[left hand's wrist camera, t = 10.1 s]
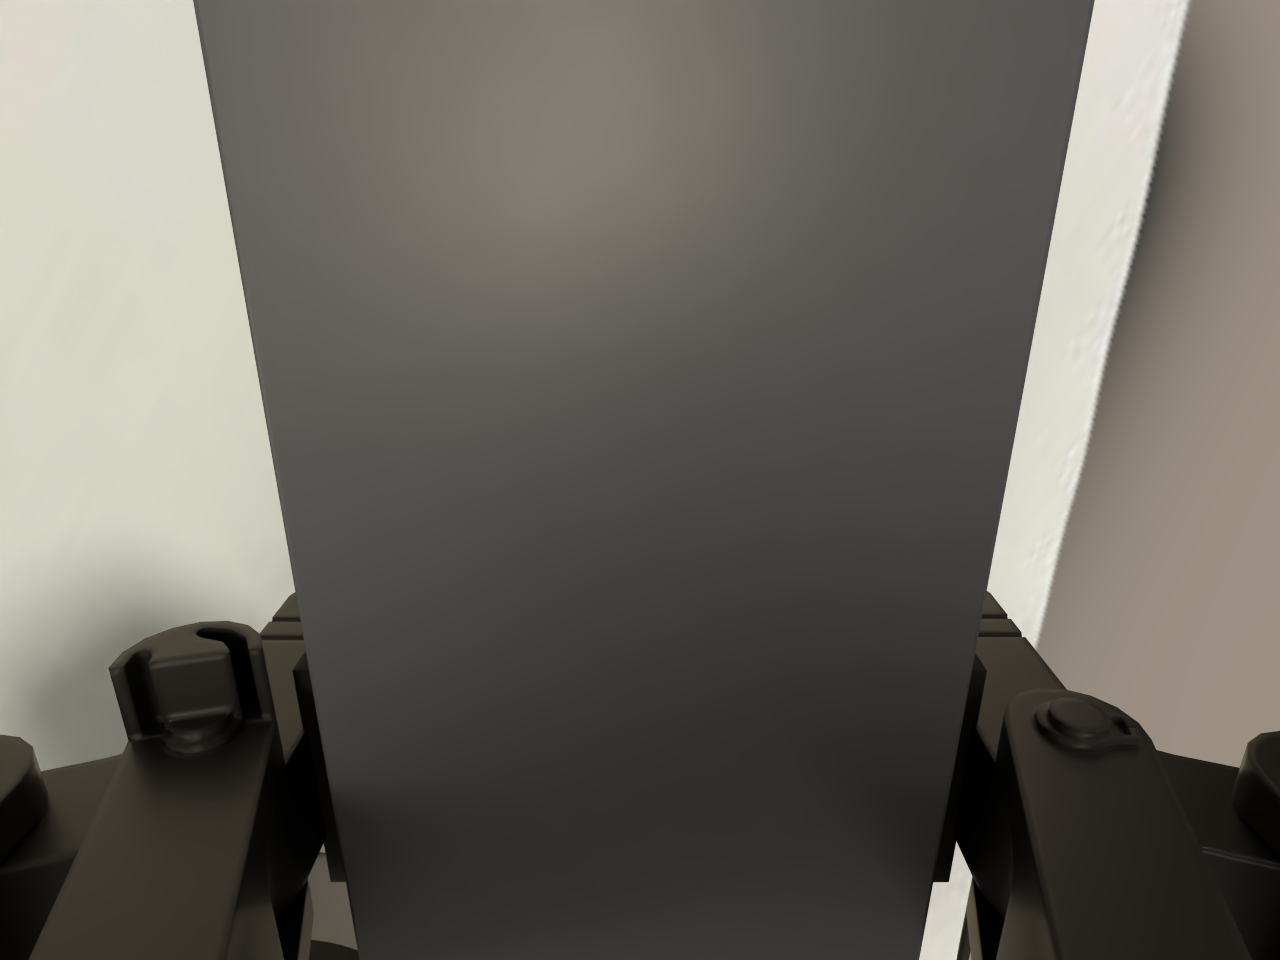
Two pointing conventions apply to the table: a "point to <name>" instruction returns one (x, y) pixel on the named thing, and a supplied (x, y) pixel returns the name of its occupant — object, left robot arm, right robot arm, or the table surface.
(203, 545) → the table surface
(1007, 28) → the post
